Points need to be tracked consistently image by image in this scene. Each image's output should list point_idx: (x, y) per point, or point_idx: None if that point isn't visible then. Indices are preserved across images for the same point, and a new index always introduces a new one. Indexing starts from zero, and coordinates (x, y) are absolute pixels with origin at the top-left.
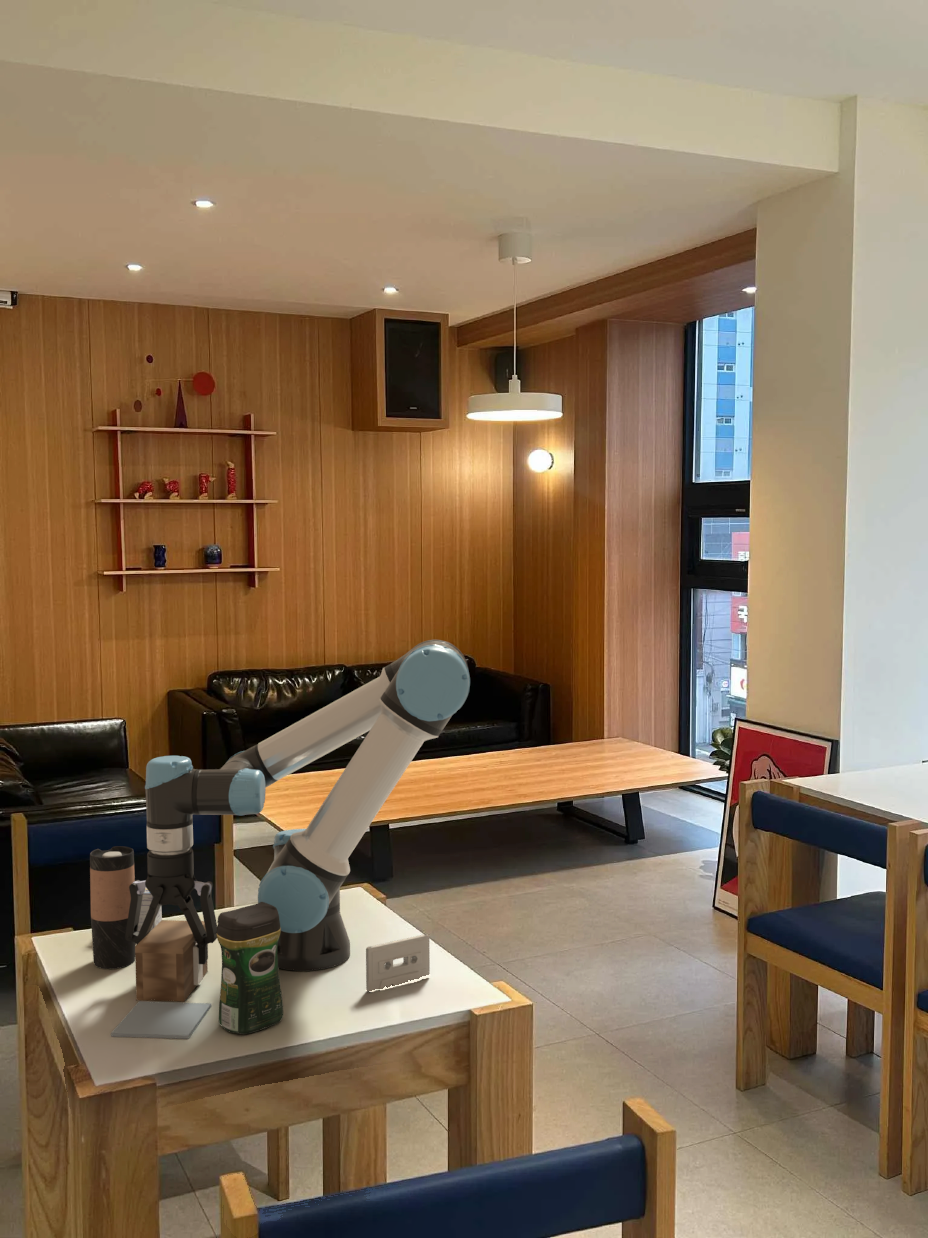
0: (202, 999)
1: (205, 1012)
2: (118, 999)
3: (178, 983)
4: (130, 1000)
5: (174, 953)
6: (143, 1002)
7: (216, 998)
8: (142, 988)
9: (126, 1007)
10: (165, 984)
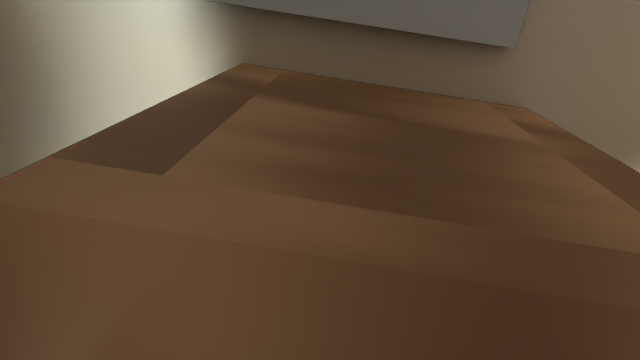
0: (149, 94)
1: None
2: (635, 138)
3: (246, 87)
4: (562, 117)
5: (184, 183)
6: (485, 22)
7: (78, 101)
8: (515, 120)
9: (588, 7)
10: (349, 102)
